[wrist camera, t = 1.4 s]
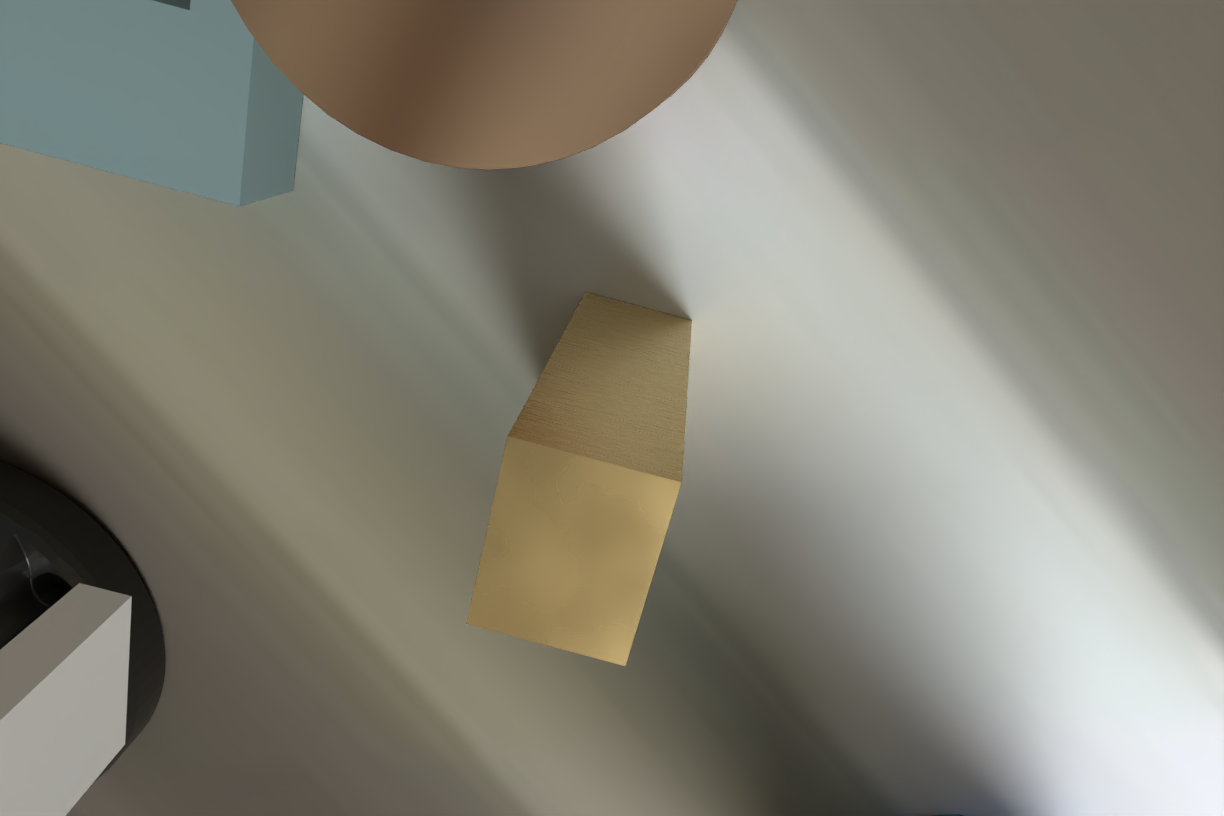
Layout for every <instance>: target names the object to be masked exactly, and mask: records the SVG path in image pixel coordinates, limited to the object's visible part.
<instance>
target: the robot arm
mask: <svg viewBox="0 0 1224 816" xmlns="http://www.w3.org/2000/svg"><path fill="white" fill-rule="evenodd" d="M164 675H165V649H164V641H163V635H162V631H161V626H160V622H159V619H158V616H157V613H156V610H155V607H154V605H153V602H152V600H151V598H150V595H149V593H148V591H147V589H146V587H145V585H144V583H143V582H142V580H141V578H140V576H139V575H138V573H137V571H136V570H135V568H134V567H133V565H132V564H131V562H130V561H129V559H128V558H127V557H126V555H125V554H124V553H123V551H122V550H121V549H120V547H119V546H118V545H117V544H116V543H115V541H114V540H113V539H112V538H111V537H110V536H109V535H108V534H107V532H106V531H105V530H104V529H103V528H102V527H101V526H100V525H99V524H98V523H97V522H96V521H95V520H93V519H92V518H91V517H90V516H89V515H88V514H87V513H86V512H85V511H83V510H82V509H81V508H80V507H79V506H77V505H76V504H75V503H74V502H72V501H71V500H70V499H68V498H67V497H66V496H64V495H63V494H61V493H60V492H58V491H57V490H55V489H54V488H52V487H51V486H49V485H47V484H46V483H44V482H42V481H41V480H39V479H37V478H35V477H33V476H31V475H30V474H28V473H26V472H24V471H22V470H19V469H17V468H15V467H13V466H10V465H8V464H6V463H3V462H0V816H66V814H67V813H68V812H69V811H70V810H71V808H72V807H73V806H74V805H75V804H76V802H77V801H78V800H79V799H80V798H81V796H82V795H83V794H84V793H85V792H86V790H87V789H88V788H89V787H90V786H91V784H92V783H93V782H95V781H96V780H97V779H98V778H99V777H101V776H102V775H103V774H104V773H105V772H106V771H107V770H108V769H109V768H110V767H111V766H112V765H113V764H114V763H115V761H116V760H117V759H118V758H119V757H120V756H121V754H122V753H123V752H124V751H125V750H126V749H127V747H128V746H129V745H130V744H131V743H132V742H133V740H134V739H135V738H136V737H137V736H138V735H139V733H140V732H141V731H142V730H143V729H144V727H145V726H146V724H147V723H148V722H149V720H150V718H151V717H152V715H153V713H154V711H155V709H156V706H157V704H158V702H159V698H160V695H161V692H162V687H163V683H164Z"/></svg>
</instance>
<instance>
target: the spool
mask: <svg viewBox="0 0 1224 816" xmlns="http://www.w3.org/2000/svg"><path fill="white" fill-rule="evenodd" d="M737 1H738V0H231V2H232V3H233V5H234V7H235V9H236V10H237V12H238V14H239V15H240V17H241V19H242V20H243V22H244V24H245V25H246V27H247V29H248V30H249V32H250V33H251V34H252V36H253V37H254V38H255V40H256V41H257V42H258V44H259V45H260V46H261V48H262V49H263V50H264V52H265V53H266V54H267V56H268V57H269V58H270V60H271V61H272V62H273V63H274V64H275V65H276V67H277V68H278V69H279V70H280V71H281V72H282V73H283V74H284V75H285V76H286V77H287V78H288V79H289V80H290V81H291V82H292V83H293V85H294V86H295V87H296V88H297V89H298V90H299V91H300V92H302V93H303V94H304V95H305V96H306V97H308V98H309V99H310V100H311V101H312V102H314V103H315V104H316V105H317V106H318V107H320V108H321V109H322V110H323V111H324V112H325V113H327V114H328V115H330V116H331V117H333V118H334V119H336V120H337V121H339V122H340V123H342V124H343V125H345V126H346V127H348V128H349V129H351V130H353V131H354V132H356V133H357V134H359V135H361V136H363V137H365V138H367V139H369V140H371V141H373V142H375V143H377V144H379V145H381V146H383V147H386V148H388V149H390V150H392V151H395V152H398V153H401V154H404V155H407V156H410V157H413V158H416V159H419V160H422V161H426V162H431V163H436V164H441V165H446V166H452V167H457V168H472V169H489V170H494V169H506V168H519V167H528V166H533V165H537V164H542V163H546V162H551V161H555V160H560V159H563V158H565V157H568V156H571V155H573V154H576V153H579V152H582V151H584V150H587V149H590V148H592V147H594V146H596V145H598V144H600V143H602V142H604V141H606V140H607V139H609V138H611V137H613V136H615V135H617V134H619V133H621V132H622V131H624V130H626V129H627V128H629V127H630V126H631V125H633V124H634V123H636V122H637V121H638V120H640V119H641V118H642V117H644V116H645V115H647V114H648V113H649V112H651V111H652V110H654V109H655V108H656V107H657V106H659V105H660V104H661V103H662V102H663V101H664V100H666V99H667V98H669V97H670V96H671V95H672V94H674V93H675V92H676V91H677V90H678V89H679V88H680V87H681V86H682V85H683V84H684V83H685V82H686V81H687V80H688V79H689V78H691V76H692V75H693V74H694V73H695V72H696V70H697V69H698V68H699V67H700V65H701V64H702V63H703V62H704V61H705V59H706V58H707V57H708V55H709V54H710V52H711V51H712V49H713V48H714V46H715V44H716V43H717V41H718V40H719V38H720V36H721V35H722V33H723V31H724V29H725V27H726V25H727V23H728V20H729V18H730V16H731V14H732V12H733V10H734V8H735V5H736V3H737Z"/></svg>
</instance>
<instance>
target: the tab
mask: <svg viewBox="0 0 1224 816" xmlns="http://www.w3.org/2000/svg"><path fill="white" fill-rule="evenodd" d="M691 324H692V320H689V319H685V318H681V317H677V316H673V315H670V314H666V313H662V312H658V311H655V310H651V309H647V308H643V307H640V306H636V305H632V304H628V303H625V302H621V301H617V300H613V299H610V298H606V297H602V296H598V295H595V294H591V293H587V292H585V294H584V296H583V298H582V300H581V302H580V304H579V305H578V307H577V309H576V311H575V313H574V315H573V316H572V318H571V320H570V322H569V324H568V326H567V328H566V329H565V331H564V333H563V335H562V337H561V339H560V340H559V342H558V344H557V346H556V348H555V350H554V352H553V353H552V355H551V357H550V359H549V361H548V363H547V364H546V366H545V368H544V370H543V372H542V374H541V376H540V377H539V379H538V381H537V383H536V385H535V387H534V388H533V390H532V392H531V394H530V396H529V398H528V399H527V401H526V403H525V405H524V407H523V409H522V411H521V412H520V414H519V416H518V418H517V420H516V422H515V423H514V425H513V427H512V429H511V431H510V433H509V435H508V437H507V441H506V446H505V451H504V455H503V460H502V464H501V469H500V473H499V478H498V482H497V487H496V491H495V496H494V501H493V505H492V510H491V514H490V519H489V523H488V528H487V532H486V537H485V541H484V546H483V551H482V555H481V560H480V564H479V569H478V573H477V578H476V582H475V587H474V591H473V596H472V601H471V605H470V610H469V614H468V619H467V623H466V624H469V625H473V626H477V627H480V628H484V629H488V630H492V631H495V632H499V633H503V634H507V635H510V636H514V637H518V638H521V639H525V640H529V641H533V642H536V643H540V644H544V645H548V646H551V647H555V648H559V649H562V650H566V651H570V652H574V653H577V654H581V655H585V656H589V657H592V658H596V659H600V660H603V661H607V662H611V663H615V664H618V665H622V666H626V662H627V659H628V656H629V652H630V649H631V646H632V643H633V639H634V636H635V633H636V630H637V626H638V623H639V620H640V617H641V613H642V610H643V607H644V604H645V600H646V597H647V594H648V591H649V587H650V584H651V581H652V578H653V574H654V571H655V568H656V564H657V561H658V558H659V555H660V551H661V548H662V545H663V542H664V538H665V535H666V532H667V529H668V525H669V522H670V519H671V516H672V512H673V509H674V506H675V503H676V499H677V496H678V493H679V490H680V486H681V483H682V469H683V453H684V437H685V420H686V404H687V388H688V372H689V356H690V340H691Z"/></svg>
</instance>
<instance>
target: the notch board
mask: <svg viewBox="0 0 1224 816" xmlns="http://www.w3.org/2000/svg"><path fill="white" fill-rule="evenodd" d="M302 103H303V93H302V92H300V91H299V90H298V89H297V88H296V87H295V86H294V85H293V83H292V82H291V81H290V80H289V79H288V78H287V77H286V76H285V75H284V74H283V73H282V72H281V71H280V70H279V69H278V68H277V67H276V65H275V64H274V63H273V62H272V61H271V60H270V58H269V57H268V56H267V54H266V53H265V52H264V50H263V49H262V48H261V46H260V45H259V44H258V42H257V41H256V40H255V38H254V37H253V36H252V34H251V33H250V32H249V30H248V29H247V27H246V25H245V24H244V22H243V20H242V19H241V17H240V15H239V14H238V12H237V10H236V9H235V7H234V5H233V3H232V2H231V0H191V1H190V0H0V143H2V144H6V145H10V146H13V147H17V148H21V149H25V150H28V151H32V152H36V153H40V154H43V155H47V156H51V157H55V158H58V159H62V160H66V161H70V162H73V163H77V164H81V165H85V166H88V167H92V168H96V169H100V170H103V171H107V172H111V173H115V174H118V175H122V176H126V177H130V178H134V179H137V180H141V181H145V182H149V183H152V184H156V185H160V186H164V187H167V188H171V189H175V190H179V191H182V192H186V193H190V194H194V195H197V196H201V197H205V198H209V199H212V200H216V201H220V202H224V203H227V204H231V205H235V206H239V207H240V206H243V205H246V204H250V203H253V202H256V201H260V200H263V199H266V198H270V197H273V196H277V195H280V194H283V193H287V192H290V191H293V186H294V177H295V168H296V158H297V149H298V140H299V131H300V122H301V112H302Z"/></svg>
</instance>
